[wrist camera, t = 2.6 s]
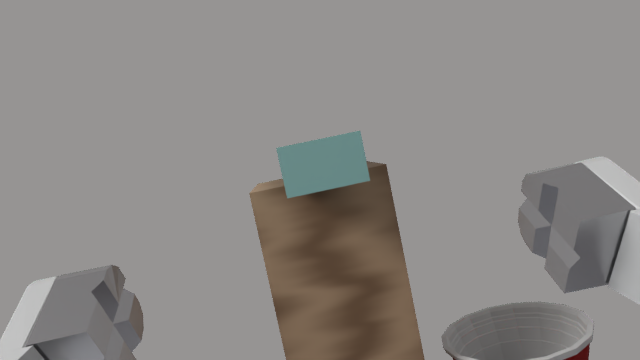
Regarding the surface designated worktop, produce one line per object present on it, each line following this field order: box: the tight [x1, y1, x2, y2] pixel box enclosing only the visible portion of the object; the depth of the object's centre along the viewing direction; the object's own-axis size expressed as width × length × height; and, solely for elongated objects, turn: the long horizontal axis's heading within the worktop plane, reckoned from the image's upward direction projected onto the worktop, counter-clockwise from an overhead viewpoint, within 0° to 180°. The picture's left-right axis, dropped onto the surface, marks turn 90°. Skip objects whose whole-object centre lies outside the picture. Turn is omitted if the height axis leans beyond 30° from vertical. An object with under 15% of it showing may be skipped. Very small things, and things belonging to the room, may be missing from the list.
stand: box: [250, 161, 424, 360], centre depth 35 cm, size 11×10×26 cm
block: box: [277, 131, 370, 198], centre depth 32 cm, size 4×20×2 cm, turn 4°
